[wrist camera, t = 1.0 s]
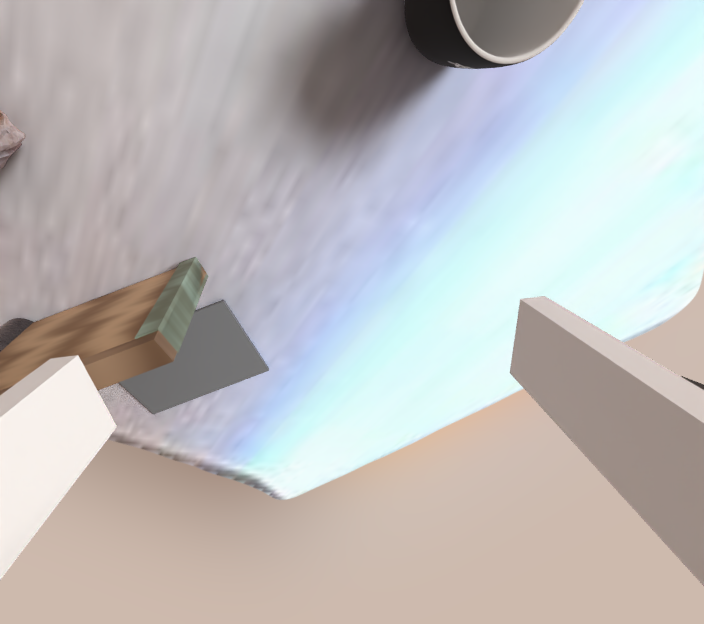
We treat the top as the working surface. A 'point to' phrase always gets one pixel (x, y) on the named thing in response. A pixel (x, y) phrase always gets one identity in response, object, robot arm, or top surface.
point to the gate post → (12, 331)
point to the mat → (200, 362)
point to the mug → (486, 29)
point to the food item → (8, 139)
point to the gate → (113, 330)
